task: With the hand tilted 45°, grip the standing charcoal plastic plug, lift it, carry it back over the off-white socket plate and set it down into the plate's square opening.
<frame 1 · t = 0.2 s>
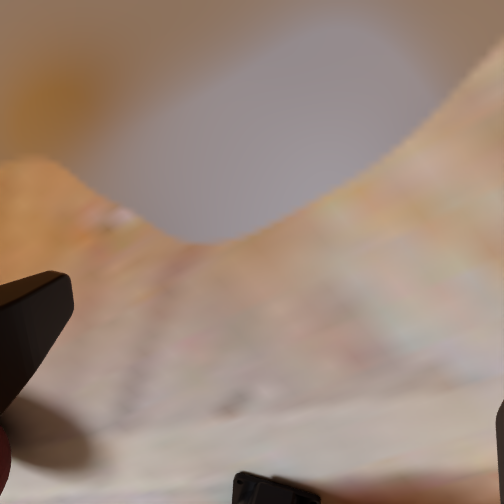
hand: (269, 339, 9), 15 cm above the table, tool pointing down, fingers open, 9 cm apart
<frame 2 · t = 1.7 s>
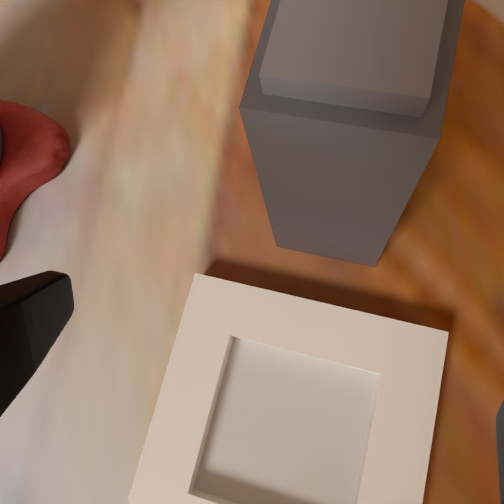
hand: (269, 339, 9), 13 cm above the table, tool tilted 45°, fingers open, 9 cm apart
socket: (286, 430, 21), on the table
plug: (335, 211, 24), on the table
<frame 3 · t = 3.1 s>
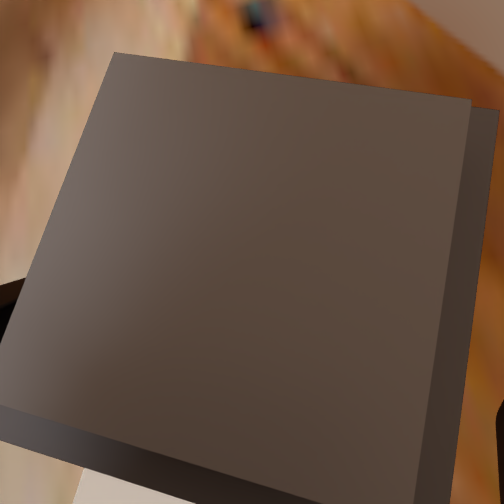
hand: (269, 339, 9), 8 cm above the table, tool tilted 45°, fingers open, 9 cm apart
plug: (291, 354, 17), on the table
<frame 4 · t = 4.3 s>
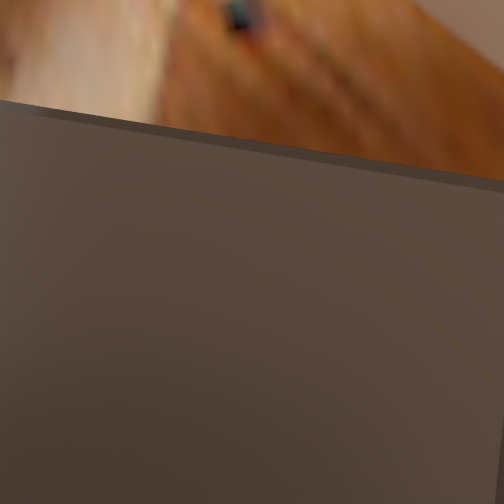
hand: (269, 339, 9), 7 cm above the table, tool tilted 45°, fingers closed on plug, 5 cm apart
plug: (277, 401, 15), on the table, touching gripper
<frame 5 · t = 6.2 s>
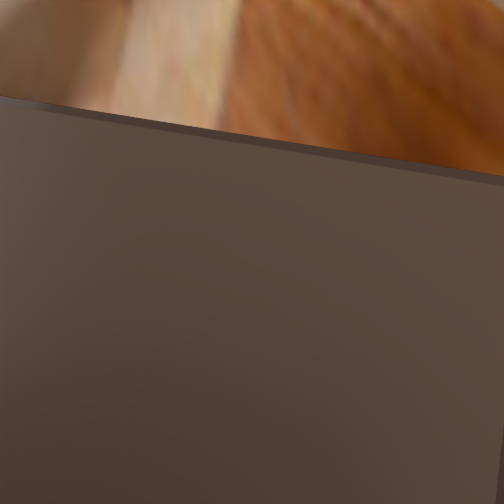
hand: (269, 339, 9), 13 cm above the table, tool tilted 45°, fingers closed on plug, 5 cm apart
plug: (277, 400, 15), point 7 cm above the table, touching gripper
when the fingers open (8 cm above the table, at t = 8.1 s): plug drops 1 cm, resting on socket.
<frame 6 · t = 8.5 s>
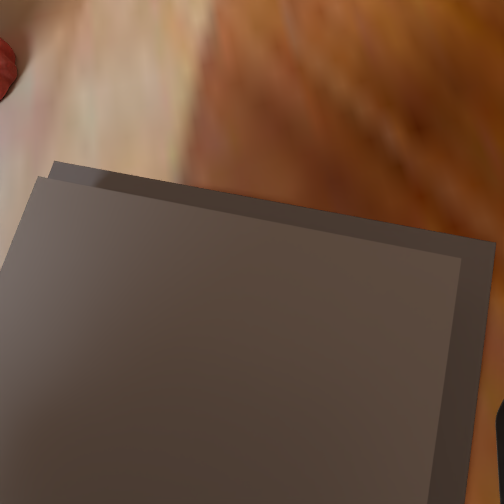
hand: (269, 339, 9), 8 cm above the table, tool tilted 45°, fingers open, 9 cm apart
plug: (280, 400, 16), resting on socket
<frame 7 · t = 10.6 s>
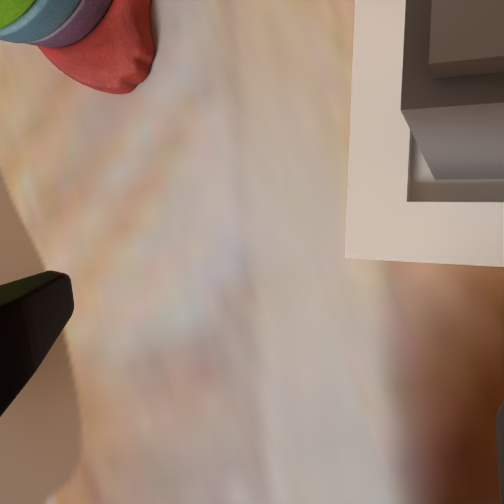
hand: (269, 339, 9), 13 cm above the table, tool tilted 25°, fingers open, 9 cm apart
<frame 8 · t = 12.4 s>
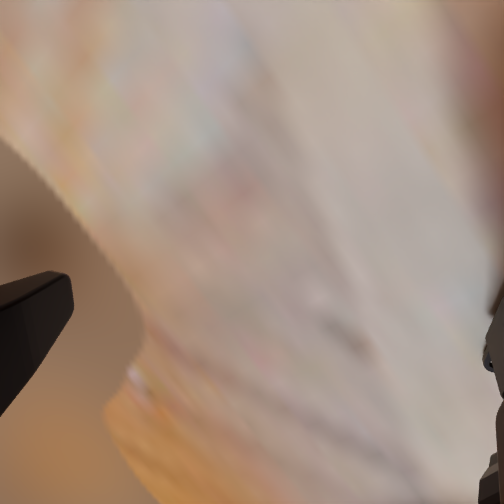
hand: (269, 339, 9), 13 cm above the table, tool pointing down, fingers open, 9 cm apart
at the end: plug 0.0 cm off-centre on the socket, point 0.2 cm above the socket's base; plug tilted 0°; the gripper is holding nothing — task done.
